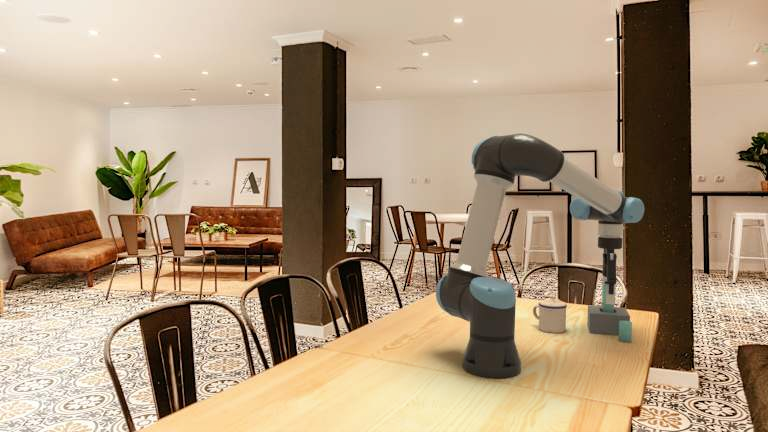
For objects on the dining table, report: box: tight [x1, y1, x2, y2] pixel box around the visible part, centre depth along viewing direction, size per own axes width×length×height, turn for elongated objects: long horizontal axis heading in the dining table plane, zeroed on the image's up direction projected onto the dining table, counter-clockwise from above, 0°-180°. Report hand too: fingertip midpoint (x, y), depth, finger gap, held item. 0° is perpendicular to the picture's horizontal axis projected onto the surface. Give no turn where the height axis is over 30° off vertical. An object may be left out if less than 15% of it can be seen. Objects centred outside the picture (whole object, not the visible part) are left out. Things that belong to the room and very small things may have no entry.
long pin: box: [601, 284, 615, 313], centre depth 178 cm, size 4×4×15 cm
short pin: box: [618, 320, 633, 344], centre depth 165 cm, size 4×4×6 cm
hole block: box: [586, 305, 631, 336], centre depth 178 cm, size 12×12×6 cm
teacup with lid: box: [532, 294, 568, 334], centre depth 179 cm, size 12×9×12 cm
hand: (608, 299), depth 177 cm, fingers open, 13 cm apart
